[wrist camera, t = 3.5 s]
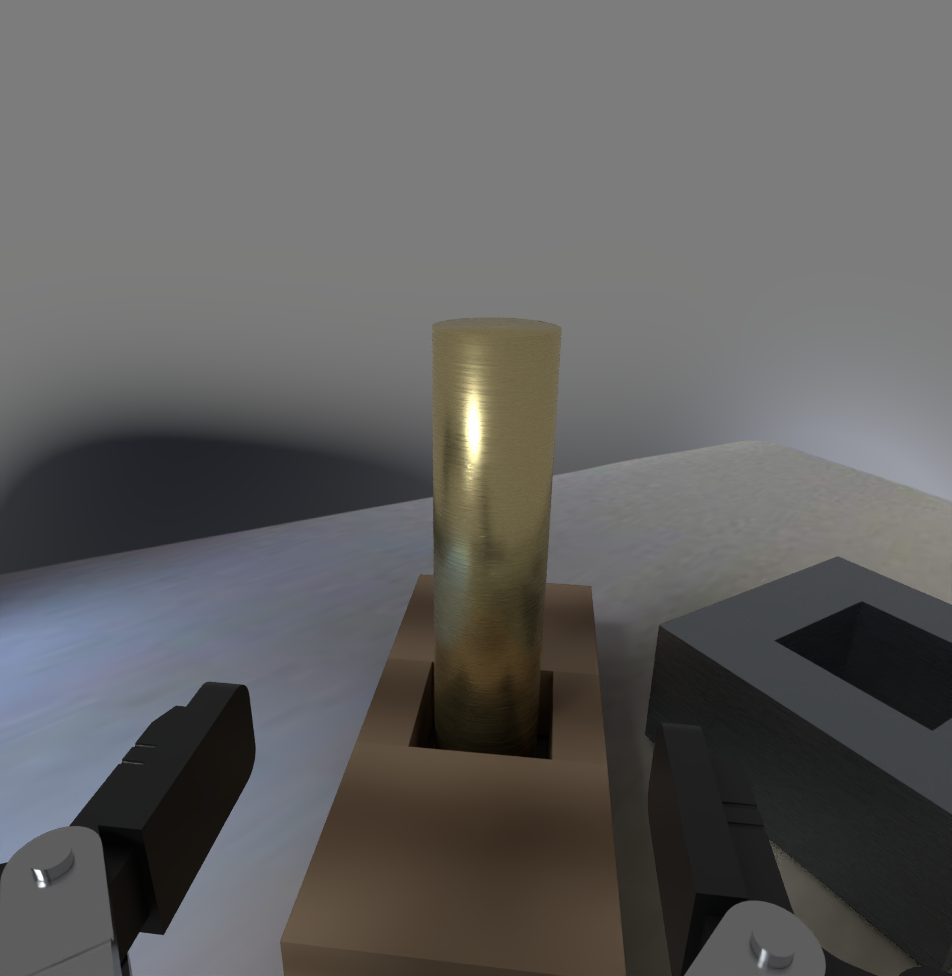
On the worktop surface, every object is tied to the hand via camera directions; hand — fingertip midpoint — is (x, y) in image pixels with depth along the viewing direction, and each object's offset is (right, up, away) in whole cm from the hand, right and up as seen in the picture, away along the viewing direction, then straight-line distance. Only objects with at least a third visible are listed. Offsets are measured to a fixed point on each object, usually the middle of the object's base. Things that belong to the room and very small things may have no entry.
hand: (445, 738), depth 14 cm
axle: (+1, -5, +12) cm, 13 cm away
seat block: (+15, -6, +12) cm, 20 cm away
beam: (+1, -5, +12) cm, 13 cm away
